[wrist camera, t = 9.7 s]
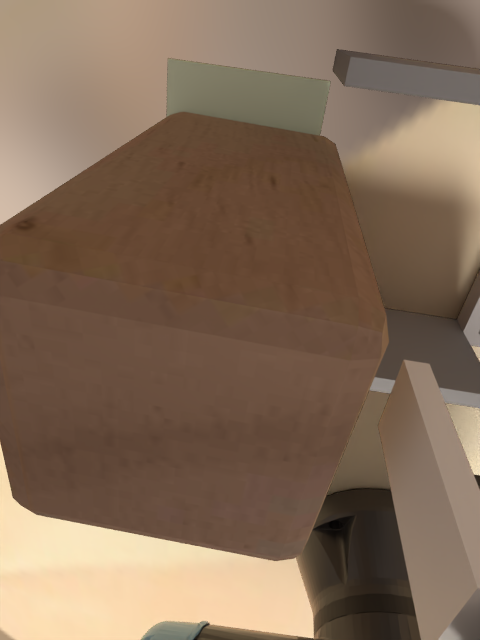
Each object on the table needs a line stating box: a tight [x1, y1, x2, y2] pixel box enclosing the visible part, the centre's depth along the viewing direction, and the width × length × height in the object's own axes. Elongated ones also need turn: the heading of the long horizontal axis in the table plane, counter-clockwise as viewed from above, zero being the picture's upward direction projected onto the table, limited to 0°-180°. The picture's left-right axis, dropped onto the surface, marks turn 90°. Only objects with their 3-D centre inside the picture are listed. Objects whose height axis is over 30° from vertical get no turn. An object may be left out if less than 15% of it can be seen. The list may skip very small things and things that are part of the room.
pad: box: [167, 58, 331, 136], centre depth 28 cm, size 13×9×1 cm
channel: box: [333, 49, 480, 408], centre depth 25 cm, size 16×12×8 cm
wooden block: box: [0, 112, 389, 561], centre depth 20 cm, size 10×10×20 cm
